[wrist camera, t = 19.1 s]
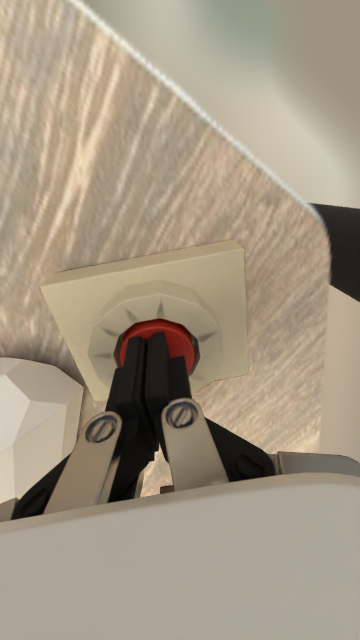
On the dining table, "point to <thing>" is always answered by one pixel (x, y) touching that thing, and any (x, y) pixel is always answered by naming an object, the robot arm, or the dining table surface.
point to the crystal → (34, 422)
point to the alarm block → (155, 310)
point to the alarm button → (175, 337)
